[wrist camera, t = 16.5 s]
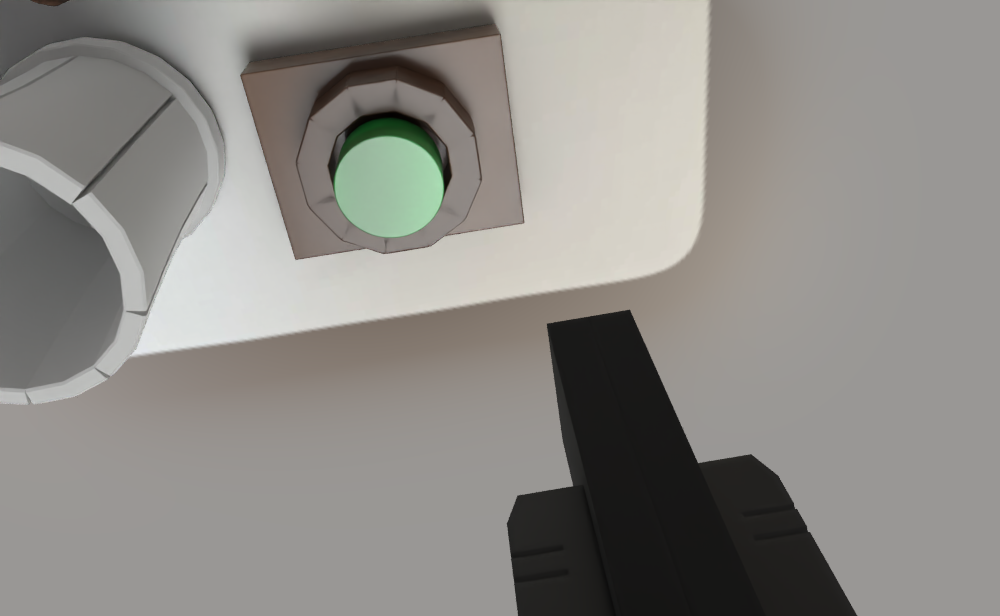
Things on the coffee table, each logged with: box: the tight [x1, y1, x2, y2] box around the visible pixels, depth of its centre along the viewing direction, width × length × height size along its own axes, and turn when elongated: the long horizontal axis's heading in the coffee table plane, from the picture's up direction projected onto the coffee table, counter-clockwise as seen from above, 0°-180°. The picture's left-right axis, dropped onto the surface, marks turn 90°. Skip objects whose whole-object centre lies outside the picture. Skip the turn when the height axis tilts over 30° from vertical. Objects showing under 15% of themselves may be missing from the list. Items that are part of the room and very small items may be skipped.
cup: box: [0, 37, 225, 405], centre depth 27 cm, size 10×9×12 cm
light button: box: [334, 118, 444, 238], centre depth 30 cm, size 4×4×2 cm
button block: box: [240, 24, 524, 260], centre depth 32 cm, size 10×8×4 cm
